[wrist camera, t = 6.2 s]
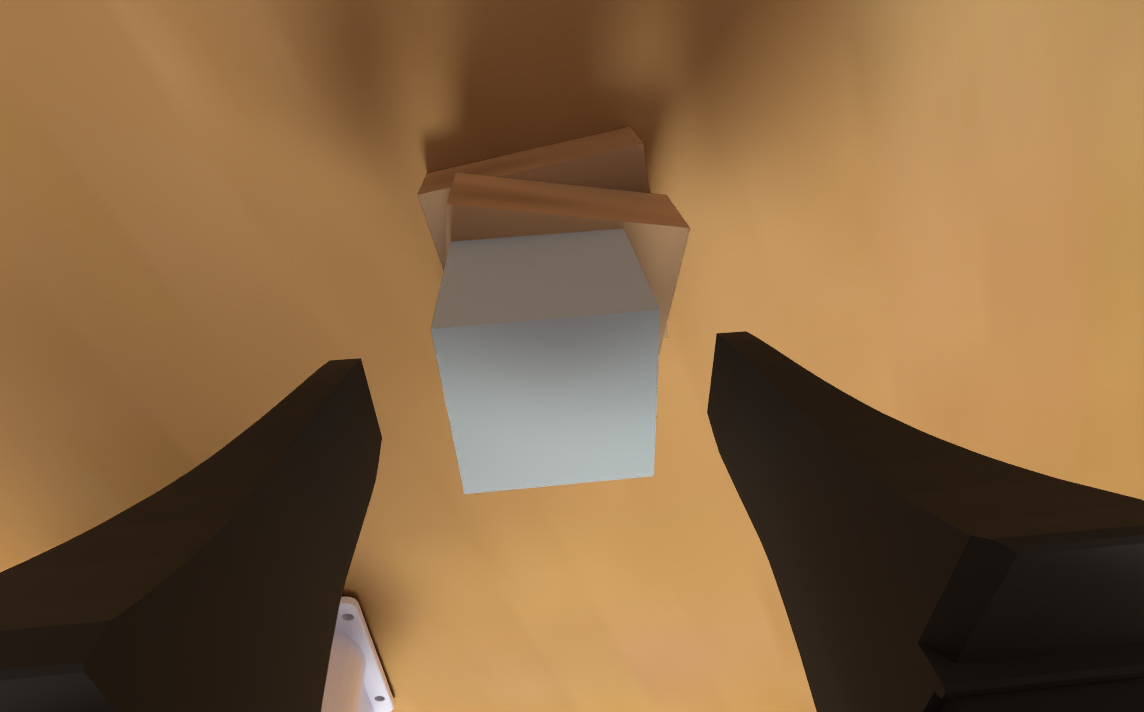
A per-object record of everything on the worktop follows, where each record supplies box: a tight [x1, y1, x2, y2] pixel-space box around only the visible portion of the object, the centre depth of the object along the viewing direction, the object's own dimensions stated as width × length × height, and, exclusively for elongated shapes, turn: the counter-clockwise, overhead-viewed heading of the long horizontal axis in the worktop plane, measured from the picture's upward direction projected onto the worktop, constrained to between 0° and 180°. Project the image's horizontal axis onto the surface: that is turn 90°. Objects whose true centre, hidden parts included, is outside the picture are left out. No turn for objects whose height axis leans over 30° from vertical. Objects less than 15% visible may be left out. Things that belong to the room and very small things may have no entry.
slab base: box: [418, 127, 669, 339], centre depth 18 cm, size 6×6×2 cm
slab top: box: [443, 173, 690, 406], centre depth 16 cm, size 6×6×2 cm
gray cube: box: [431, 229, 660, 494], centre depth 13 cm, size 4×4×4 cm
